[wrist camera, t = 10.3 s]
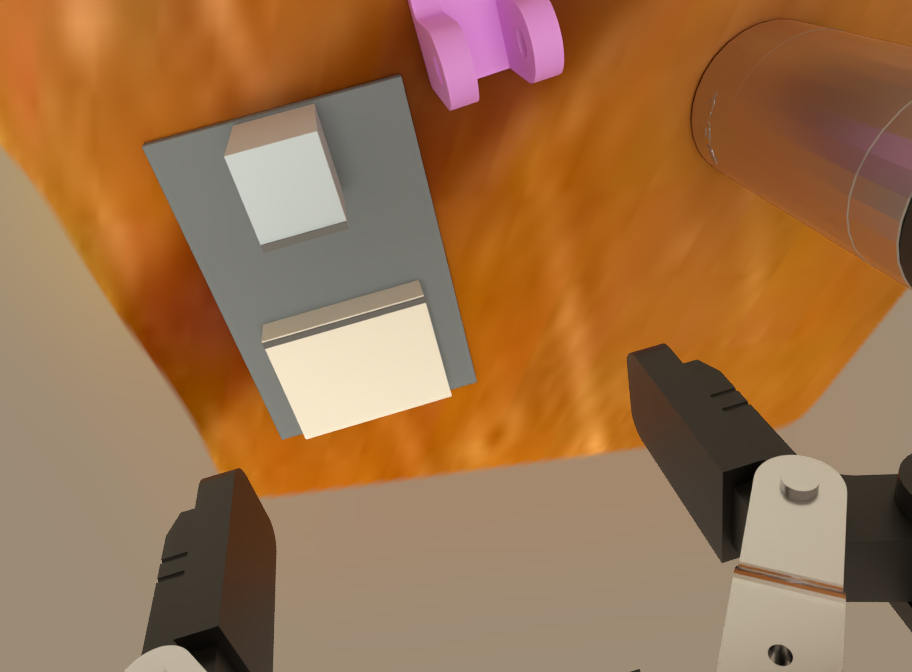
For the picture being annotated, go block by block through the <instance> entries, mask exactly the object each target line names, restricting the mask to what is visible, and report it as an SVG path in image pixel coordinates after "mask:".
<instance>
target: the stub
mask: <svg viewBox="0 0 912 672" xmlns="http://www.w3.org/2000/svg"><path fill="white" fill-rule="evenodd" d="M224 158H225V160H226V163H227V165H228V168H229V170H230V172H231V175H232V177H233V180H234V182H235V184H236V187H237V189H238V192H239V194H240V197H241V199H242V201H243V204H244V206H245V209H246V211H247V214H248V216H249V218H250V221H251V223H252V226H253V228H254V230H255V233H256V235H257V238H258V240H259V243H260V245H261V248H262V251H263V253H265V252H269V251H272V250H276V249H279V248H283V247H286V246H290V245H294V244H297V243H301V242H304V241H308V240H311V239H315V238H318V237H322V236H326V235H329V234H333V233H336V232H340V231H343V230H347V229H349V226H348V220H347V214H346V208H345V202H344V196H343V190H342V187H341V184H340V181H339V178H338V175H337V172H336V169H335V166H334V163H333V160H332V156H331V153H330V150H329V147H328V144H327V141H326V138H325V135H324V132H323V129H322V125H321V122H320V119H319V116H318V113H317V110H316V107H315V104H310V105H307V106H303V107H299V108H296V109H292V110H288V111H285V112H281V113H277V114H274V115H270V116H266V117H262V118H259V119H255V120H251V121H248V122H244V123H240V124H237V125H233V127H232V130H231V134H230V137H229V141H228V144H227V148H226V151H225V155H224Z"/></svg>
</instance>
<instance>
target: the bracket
mask: <svg viewBox="0 0 912 672" xmlns="http://www.w3.org/2000/svg"><path fill="white" fill-rule="evenodd" d="M408 4H409V8H410V11H411V15H412V18H413V22H414V26H415V29H416V33H417V36H418V40H419V44H420V47H421V51H422V54H423V58H424V62H425V65H426V69H427V72H428V76H429V80H430V83H431V87H432V89H433V90H434V91H435V92H436V94H437V95H438V96H439V98H440V99H441V100H442V102H443V103H444V104H445V105H446V107H447V108H448V109H449V110H450V111H451V110H454V109H457V108H460V107H463V106H466V105H469V104H472V103H475V102H478V101H479V88H478V82H477V79H478V78H481V77H484V76H487V75H491V74H494V73H497V72H500V71H503V70H506V69H509V68H510V69H512V70H513V71H514V72H516V73H517V74H518V75H520V76H521V77H523V78H524V79H525V80H527V81H528V82H529V83H531V84H532V83H535V82H538V81H541V80H544V79H547V78H550V77H553V76H556V75H559V74H561V73H562V71H563V67H564V49H563V42H562V36H561V31H560V27H559V24H558V20H557V17H556V14H555V11H554V9H553V7H552V4H551V2H550V1H549V0H408Z"/></svg>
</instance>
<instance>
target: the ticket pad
mask: <svg viewBox="0 0 912 672" xmlns="http://www.w3.org/2000/svg"><path fill="white" fill-rule="evenodd" d="M310 104H315V107H316V110H317V113H318V116H319V119H320V122H321V125H322V129H323V132H324V135H325V138H326V141H327V144H328V147H329V150H330V153H331V156H332V160H333V163H334V166H335V169H336V172H337V175H338V178H339V181H340V184H341V187H342V190H343V196H344V202H345V208H346V214H347V220H348V226H349V229H347V230H343V231H340V232H336V233H333V234H329V235H326V236H322V237H318V238H315V239H311V240H308V241H304V242H301V243H297V244H294V245H290V246H286V247H283V248H279V249H276V250H272V251H269V252H265V253H263V251H262V248H261V245H260V243H259V240H258V238H257V235H256V233H255V230H254V228H253V226H252V223H251V221H250V218H249V216H248V214H247V211H246V209H245V206H244V204H243V201H242V199H241V197H240V194H239V192H238V189H237V187H236V184H235V182H234V180H233V177H232V175H231V172H230V170H229V168H228V165H227V163H226V160H225V158H224V155H225V151H226V148H227V144H228V141H229V137H230V134H231V130H232V127H233V125H237V124H240V123H244V122H248V121H251V120H255V119H259V118H262V117H266V116H270V115H274V114H277V113H281V112H285V111H288V110H292V109H296V108H299V107H303V106H307V105H310ZM142 148H143V150H144V152H145V154H146V156H147V158H148V160H149V162H150V165H151V167H152V169H153V171H154V173H155V175H156V177H157V179H158V181H159V183H160V185H161V188H162V190H163V192H164V194H165V196H166V198H167V200H168V202H169V204H170V206H171V208H172V211H173V213H174V215H175V217H176V219H177V221H178V223H179V225H180V227H181V229H182V231H183V234H184V236H185V238H186V240H187V242H188V244H189V246H190V248H191V250H192V252H193V254H194V257H195V259H196V261H197V263H198V265H199V267H200V269H201V271H202V273H203V275H204V277H205V280H206V282H207V284H208V286H209V288H210V290H211V292H212V294H213V296H214V298H215V300H216V302H217V305H218V307H219V309H220V311H221V313H222V315H223V317H224V319H225V321H226V323H227V325H228V328H229V330H230V332H231V334H232V336H233V338H234V340H235V342H236V344H237V346H238V348H239V351H240V353H241V355H242V357H243V359H244V361H245V363H246V365H247V367H248V369H249V371H250V374H251V376H252V378H253V380H254V382H255V384H256V386H257V388H258V390H259V392H260V394H261V397H262V399H263V401H264V403H265V405H266V407H267V409H268V411H269V413H270V415H271V417H272V420H273V422H274V424H275V426H276V428H277V430H278V432H279V434H280V436H281V438H282V440H283V439H286V438H289V437H293V436H296V435H299V434H304V436H305V439H309V438H312V437H316V436H319V435H323V434H326V433H329V432H333V431H336V430H339V429H343V428H346V427H350V426H353V425H356V424H360V423H363V422H366V421H370V420H373V419H377V418H380V417H383V416H387V415H390V414H393V413H397V412H400V411H403V410H407V409H410V408H414V407H417V406H420V405H424V404H427V403H430V402H434V401H437V400H441V399H444V398H447V397H451V396H452V395H451V392H450V390H451V389H455V388H458V387H462V386H465V385H468V384H472V383H475V382H477V381H476V376H475V372H474V368H473V364H472V360H471V356H470V352H469V348H468V344H467V340H466V336H465V332H464V328H463V324H462V320H461V316H460V312H459V308H458V304H457V300H456V296H455V292H454V288H453V284H452V280H451V275H450V271H449V267H448V263H447V259H446V255H445V251H444V247H443V243H442V239H441V235H440V231H439V227H438V223H437V219H436V215H435V211H434V207H433V203H432V199H431V195H430V191H429V187H428V183H427V179H426V175H425V170H424V166H423V162H422V158H421V154H420V150H419V146H418V142H417V138H416V134H415V130H414V126H413V122H412V118H411V114H410V110H409V106H408V102H407V98H406V94H405V90H404V86H403V82H402V78H401V75H400V74H398V75H395V76H391V77H387V78H383V79H380V80H376V81H372V82H369V83H365V84H361V85H358V86H354V87H350V88H347V89H343V90H339V91H336V92H332V93H328V94H324V95H321V96H317V97H313V98H310V99H306V100H302V101H299V102H295V103H291V104H288V105H284V106H280V107H277V108H273V109H269V110H266V111H262V112H258V113H254V114H251V115H247V116H243V117H240V118H236V119H232V120H229V121H225V122H221V123H218V124H214V125H210V126H207V127H203V128H199V129H195V130H192V131H188V132H184V133H181V134H177V135H173V136H170V137H166V138H162V139H159V140H155V141H151V142H148V143H144V144H143V146H142Z"/></svg>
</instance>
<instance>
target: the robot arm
mask: <svg viewBox="0 0 912 672" xmlns="http://www.w3.org/2000/svg"><path fill="white" fill-rule="evenodd" d="M692 130H693V137H694V140H695V143H696V145H697V148H698V150H699V152H700V153H701V155H702V156H703V158H704V159H705V160H706V161H707V162H708V163H709V164H710V165H712V166H713V167H714V168H715V169H717V170H718V171H720V172H722V173H723V174H725V175H726V176H728V177H730V178H731V179H733V180H734V181H736V182H738V183H739V184H741V185H743V186H744V187H746V188H747V189H748V190H750V191H752V192H753V193H755V194H757V195H758V196H760V197H761V198H763V199H765V200H766V201H768V202H770V203H771V204H773V205H774V206H776V207H778V208H779V209H781V210H783V211H784V212H786V213H787V214H789V215H791V216H792V217H794V218H796V219H797V220H799V221H800V222H802V223H804V224H805V225H807V226H809V227H810V228H812V229H813V230H815V231H817V232H818V233H820V234H821V235H823V236H825V237H826V238H828V239H830V240H831V241H833V242H834V243H836V244H838V245H839V246H841V247H843V248H844V249H846V250H847V251H849V252H851V253H852V254H854V255H856V256H857V257H859V258H860V259H862V260H864V261H865V262H867V263H869V264H870V265H872V266H873V267H875V268H877V269H879V270H880V271H882V272H884V273H885V274H887V275H888V276H890V277H892V278H893V279H895V280H897V281H898V282H900V283H901V284H903V285H905V286H906V287H908V288H909V289H911V290H912V46H907V45H903V44H898V43H894V42H889V41H885V40H880V39H876V38H872V37H867V36H863V35H858V34H854V33H849V32H845V31H842V30H837V29H833V28H828V27H823V26H819V25H814V24H809V23H805V22H800V21H796V20H792V19H775V20H771V21H767V22H763V23H760V24H757V25H755V26H753V27H751V28H749V29H747V30H745V31H743V32H742V33H741V34H739V35H738V36H737V37H735V38H734V39H733V40H731V41H730V42H729V43H728V44H727V45H726V46H725V47H724V48H723V49H722V50H721V51H720V52H719V53H718V54H717V55H716V57H715V58H714V60H713V61H712V62H711V64H710V65H709V67H708V68H707V70H706V71H705V73H704V75H703V78H702V80H701V82H700V84H699V86H698V88H697V92H696V96H695V99H694V103H693V110H692ZM627 368H628V379H629V390H630V401H631V411H632V416H633V420H634V423H635V426H636V429H637V431H638V434H639V436H640V438H641V439H642V441H643V443H644V444H645V446H646V447H647V449H648V450H649V452H650V453H651V455H652V456H653V458H654V459H655V461H656V462H657V464H658V466H659V467H660V469H661V470H662V472H663V473H664V475H665V476H666V478H667V479H668V481H669V483H670V484H671V486H672V487H673V489H674V490H675V492H676V493H677V495H678V496H679V498H680V499H681V501H682V503H683V504H684V506H685V507H686V509H687V510H688V512H689V513H690V515H691V516H692V518H693V519H694V521H695V522H696V524H697V526H698V527H699V528H700V530H701V532H702V533H703V535H704V536H705V538H706V539H707V541H708V542H709V544H710V546H711V547H712V549H713V550H714V551H715V553H716V555H717V556H718V558H719V559H720V561H721V562H722V563H724V562H727V561H730V560H733V559H736V558H739V557H740V561H739V565H738V566H736V567H735V570H734V575H733V580H732V585H731V591H730V596H729V602H728V608H727V613H726V619H725V624H724V631H723V636H722V641H721V647H720V653H719V658H718V664H717V670H716V672H843V668H844V642H845V640H844V639H845V616H846V615H845V614H846V602H889V603H890V604H891V605H892V607H893V608H894V610H895V611H896V612H897V614H898V615H899V616H900V617H901V619H902V620H903V621H904V623H905V624H906V625H907V627H908V628H909V629H910V630H911V632H912V454H911V455H909V456H907V457H906V458H905V459H904V460H903V461H902V463H901V465H900V468H899V472H898V474H892V475H891V474H890V475H862V476H861V475H860V476H851V475H840V474H839V473H838V472H837V471H836V470H834V469H833V468H832V467H831V466H829V465H827V464H825V463H824V462H821V461H820V460H817V459H814V458H811V457H807V456H801V455H797V454H796V453H795V452H794V451H793V450H792V449H791V448H790V447H789V446H788V445H787V444H786V443H785V442H784V440H783V439H782V438H781V437H780V436H779V435H778V434H777V433H776V432H775V431H774V430H773V428H772V427H771V426H770V425H769V424H768V423H767V422H766V421H765V420H764V419H763V418H762V416H761V415H760V414H759V413H758V412H757V411H756V410H755V409H754V408H753V407H752V406H751V404H750V405H749V404H748V402H747V400H746V399H745V398H744V397H743V396H742V395H741V394H740V392H739V391H736V390H735V387H734V386H733V385H732V384H731V383H730V382H729V380H728V379H727V378H726V377H725V376H724V375H723V374H722V373H721V372H720V371H719V370H717V369H715V368H713V367H711V366H709V365H707V364H705V363H703V362H701V361H699V360H694V361H691V362H687V363H684V364H683V363H682V362H681V361H680V359H679V358H678V357H677V356H676V355H675V353H674V352H673V351H672V350H671V349H670V348H669V347H668V346H667V345H666V344H659V345H656V346H653V347H649V348H646V349H642V350H639V351H636V352H632V353H629V354H628V356H627ZM161 560H162V564H160V569H159V573H158V578H157V579H158V583H156V588H155V592H154V597H153V602H152V607H151V612H150V617H149V622H148V627H147V631H146V636H145V641H144V646H143V651H142V655H141V656H140V657H139V658H137V659H136V660H135V661H134V662H132V663H131V664H130V666H128V667H127V668H126V669H125V670H124V672H273V645H274V644H273V643H274V612H275V577H276V576H275V575H276V540H275V535H274V531H273V527H272V524H271V521H270V519H269V517H268V515H267V514H266V512H265V510H264V508H263V506H262V504H261V502H260V500H259V499H258V497H257V495H256V493H255V491H254V489H253V487H252V486H251V484H250V482H249V480H248V478H247V476H246V475H245V473H244V472H243V471H242V470H241V469H240V468H238V469H235V470H231V471H228V472H225V473H221V474H218V475H214V476H211V477H208V478H204V479H202V480H201V481H200V484H199V489H198V494H197V500H196V506H195V509H192V510H188V511H185V512H182V513H180V515H179V517H178V518H177V520H176V521H175V523H174V524H173V526H172V528H171V529H170V531H169V532H168V534H167V536H166V539H165V544H164V549H163V554H162V559H161ZM632 672H640V670H639V669H638V670H635V671H632Z"/></svg>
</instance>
